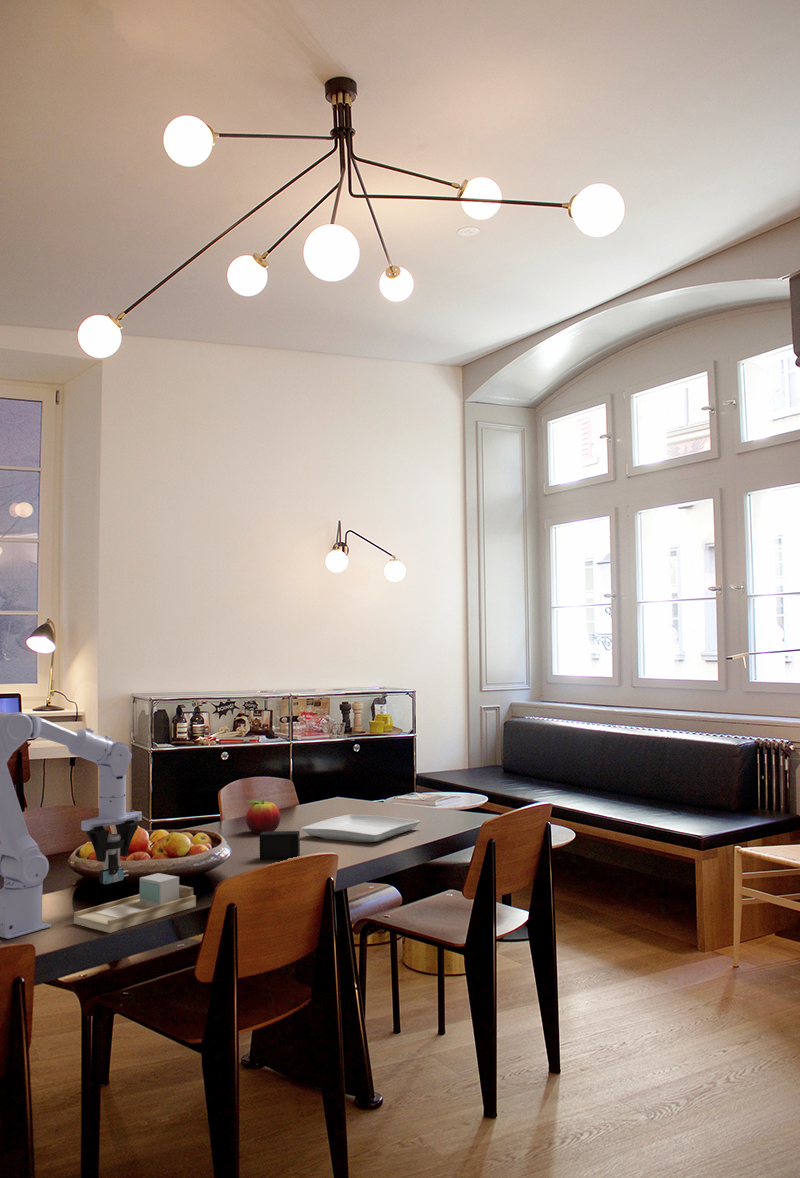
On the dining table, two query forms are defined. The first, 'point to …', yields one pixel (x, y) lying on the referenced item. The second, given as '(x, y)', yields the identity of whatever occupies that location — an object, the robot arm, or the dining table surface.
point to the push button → (112, 861)
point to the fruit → (262, 817)
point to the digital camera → (279, 845)
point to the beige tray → (131, 911)
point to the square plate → (360, 827)
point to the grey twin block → (159, 889)
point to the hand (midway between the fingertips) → (112, 858)
